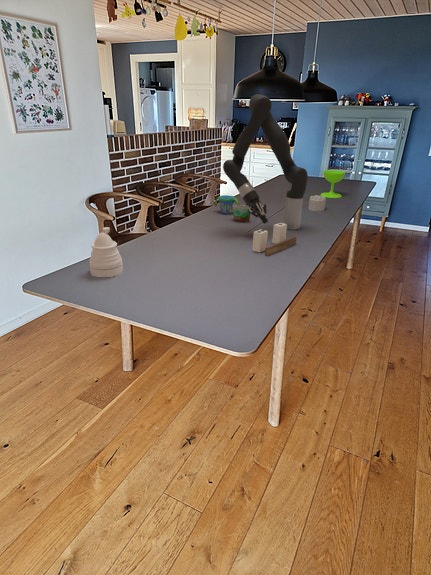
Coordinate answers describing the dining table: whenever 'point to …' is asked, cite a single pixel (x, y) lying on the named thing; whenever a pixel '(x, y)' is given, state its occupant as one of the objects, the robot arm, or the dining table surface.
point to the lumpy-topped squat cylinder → (317, 203)
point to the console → (280, 246)
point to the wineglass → (333, 177)
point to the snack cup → (226, 203)
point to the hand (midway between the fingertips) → (266, 222)
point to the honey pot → (105, 256)
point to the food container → (241, 213)
